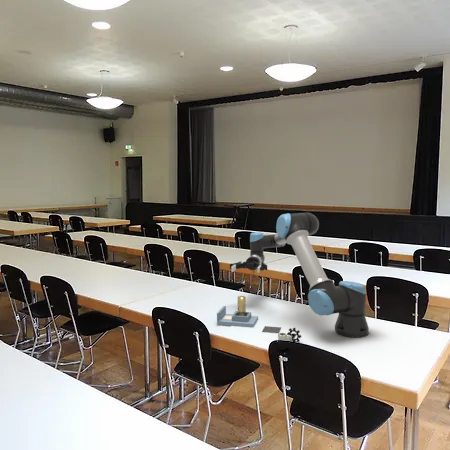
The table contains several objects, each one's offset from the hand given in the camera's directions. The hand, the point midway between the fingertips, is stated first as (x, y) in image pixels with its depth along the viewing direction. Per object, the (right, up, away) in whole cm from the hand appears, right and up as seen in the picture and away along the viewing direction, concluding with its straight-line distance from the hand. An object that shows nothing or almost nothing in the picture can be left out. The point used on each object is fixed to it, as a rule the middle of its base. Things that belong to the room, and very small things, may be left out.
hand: (245, 269), depth 222 cm
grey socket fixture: (-4, -25, -7) cm, 26 cm away
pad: (+12, -26, -18) cm, 34 cm away
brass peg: (-2, -23, -7) cm, 25 cm away
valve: (+16, -29, -37) cm, 50 cm away
